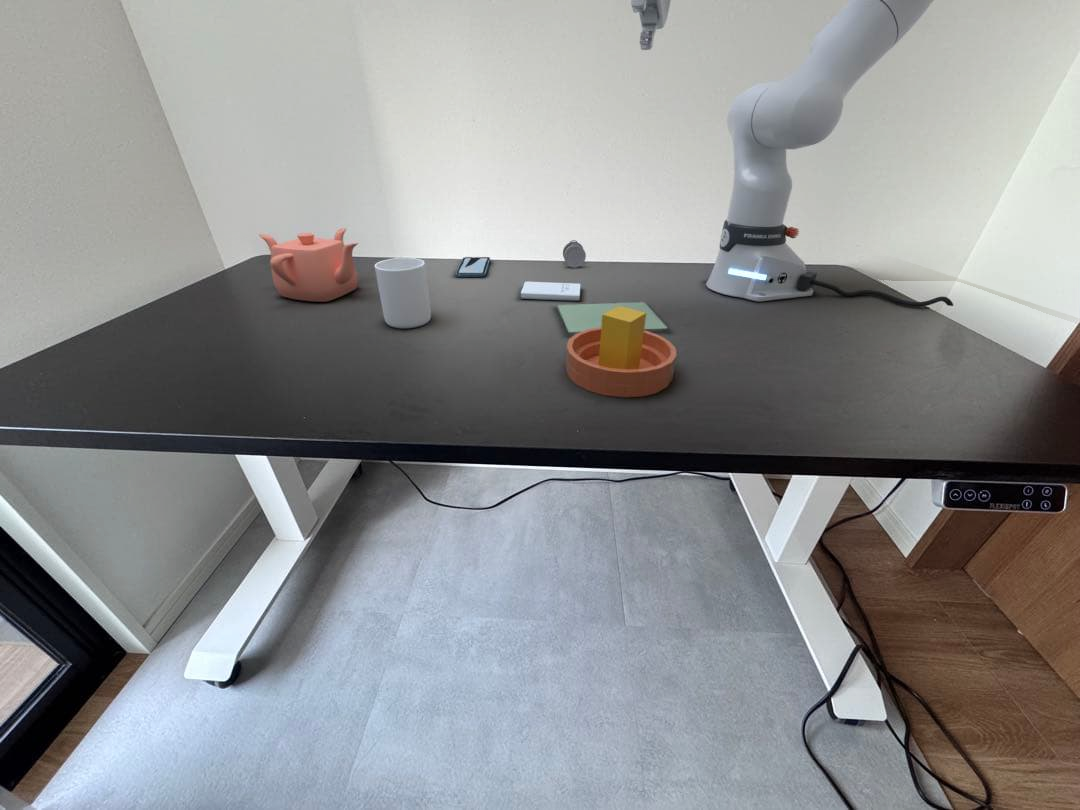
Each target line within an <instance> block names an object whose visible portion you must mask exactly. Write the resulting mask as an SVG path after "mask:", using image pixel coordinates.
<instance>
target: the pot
mask: <svg viewBox="0 0 1080 810" xmlns="http://www.w3.org/2000/svg"><path fill="white" fill-rule="evenodd" d="M346 232H347V227H343V228H339V229H338V230H337V231H336V232H335V234H334V237H333V239H331V238H321V237H315V233H314V232H313V233H312V232H301V233H298V234H297V235H296V237H297V238H294V239H291V240H288V241H284V242H281V243H278V242H277V240H275V239H274V238H273V237H272V236H271V235H268V234H264V233H259V234H258V236H259V237H260V238H261V239H263V240H264V242H265V243H266V244H267V246H268V249H269V251H270V252H269V253H270V255H271V256H270V261H269V264H270V268H271V275H272V280H273V284H274V288H275V289H276V291H277V292H278V293H279V295H280V296H281V297H284V298H287V299H291V300H298V301H303V302H304V301H305V302H316V303H317V302H319V303H320V302H322V303H325V302H326V303H327V302H330V301H333V300H335V299H337V298H340V297H343V296H344V295H347V294H349V293H352V292H353V291H355V290H356V289H357V287H358V281H359V279H358V273H357V270H356V267H355V264H354V258H353V251H354V248H355V247H356V246H358V245H359V242H352V243H346V244H344V236H345V233H346Z"/></svg>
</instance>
